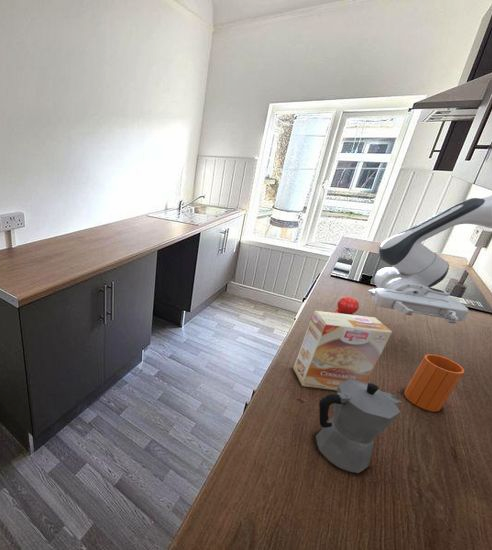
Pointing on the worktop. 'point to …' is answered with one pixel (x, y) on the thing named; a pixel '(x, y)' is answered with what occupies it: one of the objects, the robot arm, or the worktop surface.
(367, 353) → the coffeecake box
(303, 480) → the worktop surface
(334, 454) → the coffeepot
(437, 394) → the orange staved tumbler
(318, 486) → the worktop surface
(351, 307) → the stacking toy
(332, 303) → the worktop surface
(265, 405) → the worktop surface
